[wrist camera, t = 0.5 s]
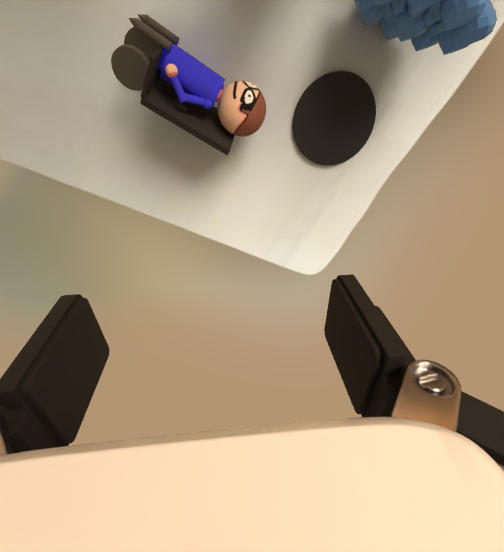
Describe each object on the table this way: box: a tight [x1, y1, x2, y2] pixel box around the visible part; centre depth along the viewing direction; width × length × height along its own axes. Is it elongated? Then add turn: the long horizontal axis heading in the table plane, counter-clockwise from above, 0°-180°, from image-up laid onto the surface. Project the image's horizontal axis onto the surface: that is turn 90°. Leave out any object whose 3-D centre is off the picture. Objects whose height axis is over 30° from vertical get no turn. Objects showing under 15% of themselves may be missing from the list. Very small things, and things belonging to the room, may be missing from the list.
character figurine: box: [111, 15, 266, 155], centre depth 29 cm, size 8×7×15 cm
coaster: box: [293, 71, 376, 165], centre depth 35 cm, size 10×10×1 cm
